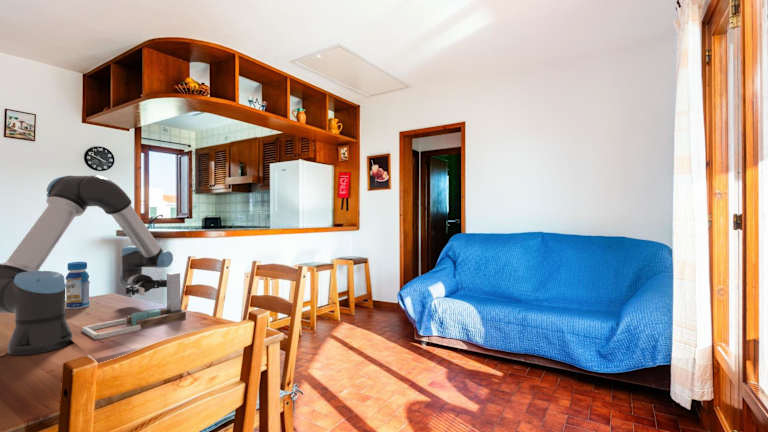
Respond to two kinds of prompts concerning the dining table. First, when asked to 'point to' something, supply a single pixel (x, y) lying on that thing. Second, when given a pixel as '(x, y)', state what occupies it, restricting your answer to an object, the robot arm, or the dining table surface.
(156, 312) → the teal block
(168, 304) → the brushed metal bar
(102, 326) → the tray
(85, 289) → the blue pill bottle
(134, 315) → the teal cube
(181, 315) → the channel
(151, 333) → the dining table surface
